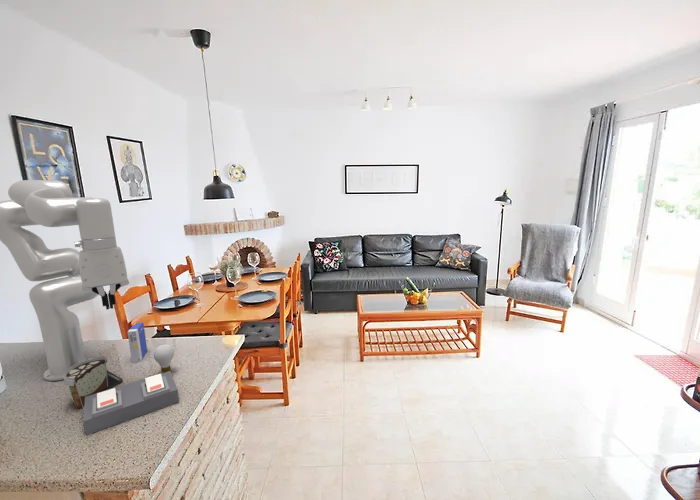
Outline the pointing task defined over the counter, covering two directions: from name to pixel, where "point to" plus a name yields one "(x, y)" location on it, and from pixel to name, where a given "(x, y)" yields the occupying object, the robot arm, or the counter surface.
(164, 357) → the light bulb
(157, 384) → the rocker
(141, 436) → the counter surface
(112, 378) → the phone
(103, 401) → the rocker
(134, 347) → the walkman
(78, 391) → the food container
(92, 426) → the rocker switch panel
